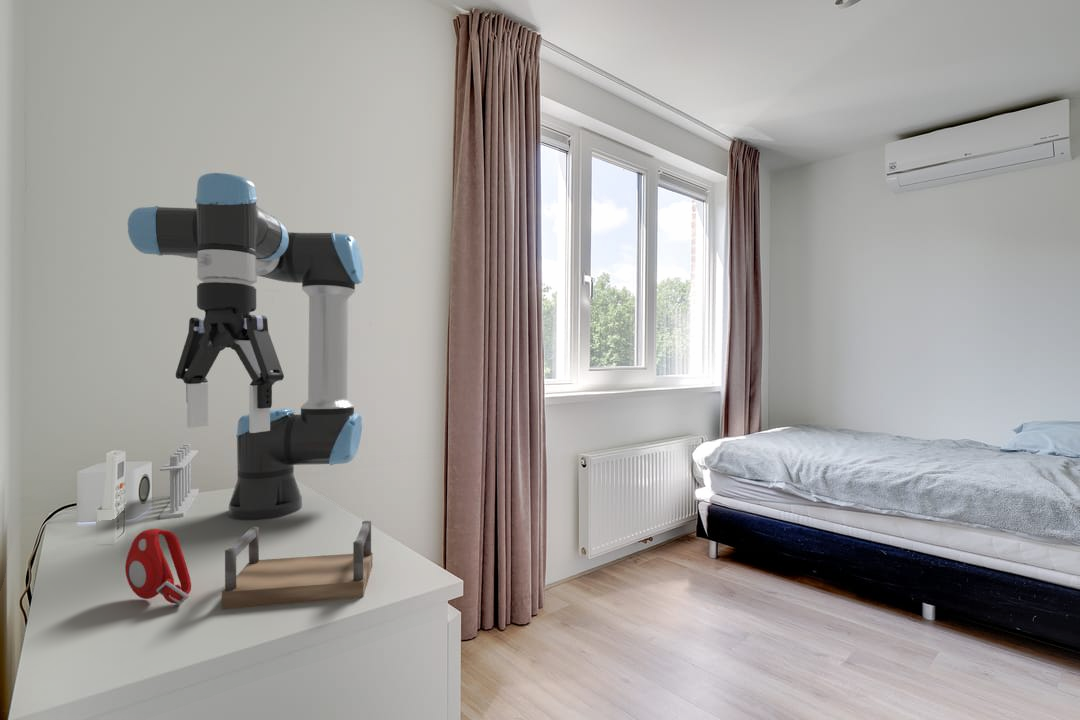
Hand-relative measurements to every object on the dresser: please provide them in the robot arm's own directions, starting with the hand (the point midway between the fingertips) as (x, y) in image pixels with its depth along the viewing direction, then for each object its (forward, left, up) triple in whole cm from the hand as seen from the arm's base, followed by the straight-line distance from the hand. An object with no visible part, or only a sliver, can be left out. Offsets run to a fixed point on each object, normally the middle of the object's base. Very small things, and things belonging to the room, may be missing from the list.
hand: (227, 429), depth 79 cm
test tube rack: (-59, -31, -25) cm, 71 cm away
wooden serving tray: (-3, +10, -25) cm, 27 cm away
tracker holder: (-2, -10, -25) cm, 27 cm away
